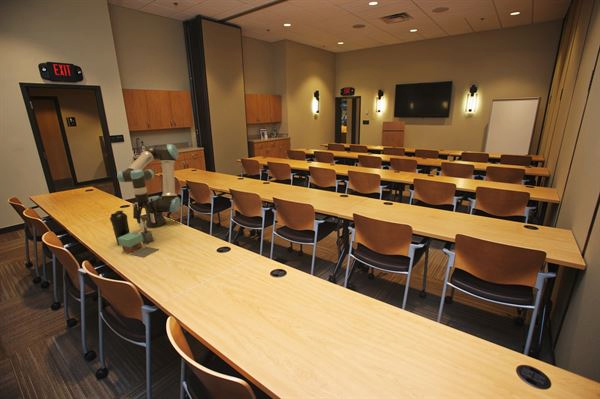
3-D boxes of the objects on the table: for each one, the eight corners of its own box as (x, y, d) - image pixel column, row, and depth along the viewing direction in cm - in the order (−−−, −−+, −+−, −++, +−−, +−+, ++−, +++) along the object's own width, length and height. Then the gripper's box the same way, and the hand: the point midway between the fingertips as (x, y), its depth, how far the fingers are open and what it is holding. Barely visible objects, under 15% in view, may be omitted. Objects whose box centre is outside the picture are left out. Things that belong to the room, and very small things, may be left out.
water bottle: (135, 239, 211) (129, 209, 205) (126, 246, 202) (119, 214, 195) (122, 239, 212) (115, 209, 206) (112, 246, 203) (105, 214, 196)
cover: (132, 238, 200) (131, 231, 199) (143, 240, 197) (141, 233, 195) (119, 245, 192) (117, 237, 190) (129, 247, 188) (128, 239, 186)
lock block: (148, 240, 209) (146, 229, 207) (153, 241, 207) (151, 230, 205) (142, 243, 205) (140, 232, 202) (147, 244, 203) (145, 233, 201)
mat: (146, 246, 199) (145, 246, 199) (159, 249, 194) (158, 249, 194) (130, 254, 188) (130, 254, 188) (143, 257, 184) (143, 257, 184)
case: (134, 246, 201) (132, 239, 199) (142, 248, 198) (140, 241, 196) (123, 251, 194) (121, 244, 192) (131, 253, 191) (130, 246, 189)
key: (142, 229, 206) (139, 215, 203) (151, 231, 203) (148, 216, 200) (129, 235, 197) (125, 220, 194) (138, 237, 194) (135, 221, 191)
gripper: (150, 188, 205) (156, 218, 212) (122, 197, 186) (129, 230, 193) (158, 189, 203) (164, 219, 209) (130, 198, 184) (137, 231, 190)
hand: (147, 224), depth 201 cm, fingers open, 9 cm apart
